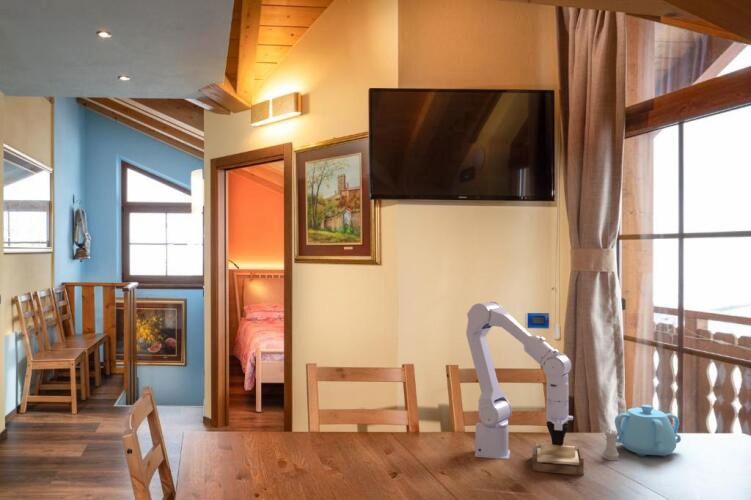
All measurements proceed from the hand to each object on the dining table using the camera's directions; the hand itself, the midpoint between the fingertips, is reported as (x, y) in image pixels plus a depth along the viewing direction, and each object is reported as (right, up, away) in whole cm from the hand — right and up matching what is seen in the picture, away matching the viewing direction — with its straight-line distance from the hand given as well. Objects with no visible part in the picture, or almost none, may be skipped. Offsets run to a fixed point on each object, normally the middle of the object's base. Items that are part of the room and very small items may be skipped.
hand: (557, 449), depth 168 cm
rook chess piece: (+18, -6, +8) cm, 20 cm away
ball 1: (-2, -5, +1) cm, 5 cm away
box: (0, -5, +1) cm, 5 cm away
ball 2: (+3, -5, +2) cm, 6 cm away
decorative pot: (+31, -6, +15) cm, 35 cm away
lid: (0, -1, -2) cm, 2 cm away
